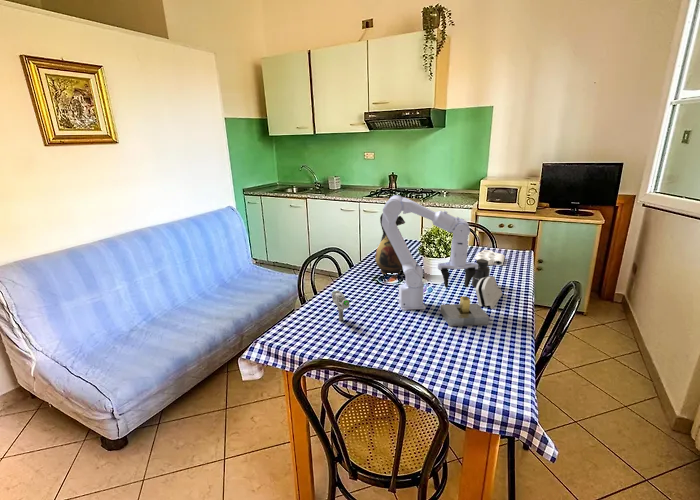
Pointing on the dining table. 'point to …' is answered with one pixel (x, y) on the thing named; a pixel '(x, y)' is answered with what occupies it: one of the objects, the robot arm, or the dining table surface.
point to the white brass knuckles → (490, 257)
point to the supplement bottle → (480, 271)
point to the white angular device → (488, 292)
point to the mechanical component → (340, 302)
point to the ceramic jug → (388, 253)
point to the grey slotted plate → (464, 315)
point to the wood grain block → (464, 305)
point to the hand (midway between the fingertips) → (456, 286)
